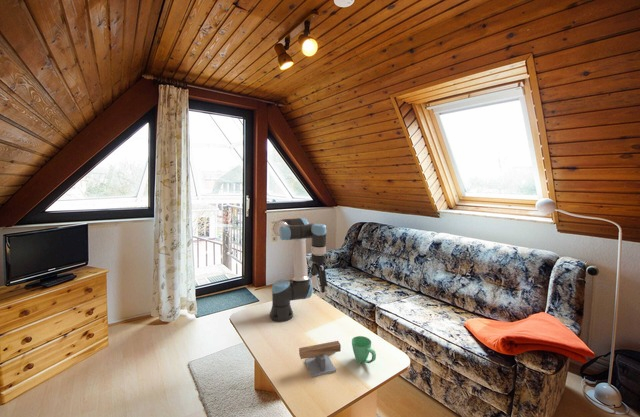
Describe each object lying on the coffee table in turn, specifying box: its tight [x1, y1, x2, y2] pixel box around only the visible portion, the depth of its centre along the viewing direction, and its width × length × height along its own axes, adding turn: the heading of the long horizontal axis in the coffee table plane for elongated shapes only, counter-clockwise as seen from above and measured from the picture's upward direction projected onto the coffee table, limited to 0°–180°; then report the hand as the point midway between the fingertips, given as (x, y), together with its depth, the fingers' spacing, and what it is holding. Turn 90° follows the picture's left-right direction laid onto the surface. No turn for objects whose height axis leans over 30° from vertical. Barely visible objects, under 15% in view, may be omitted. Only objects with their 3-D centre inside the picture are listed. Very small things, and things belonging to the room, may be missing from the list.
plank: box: [298, 340, 342, 360], centre depth 140 cm, size 4×20×4 cm, turn 108°
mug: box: [351, 335, 377, 364], centre depth 143 cm, size 15×10×10 cm
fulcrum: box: [304, 354, 337, 378], centre depth 140 cm, size 12×12×7 cm
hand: (318, 292), depth 153 cm, fingers open, 13 cm apart
